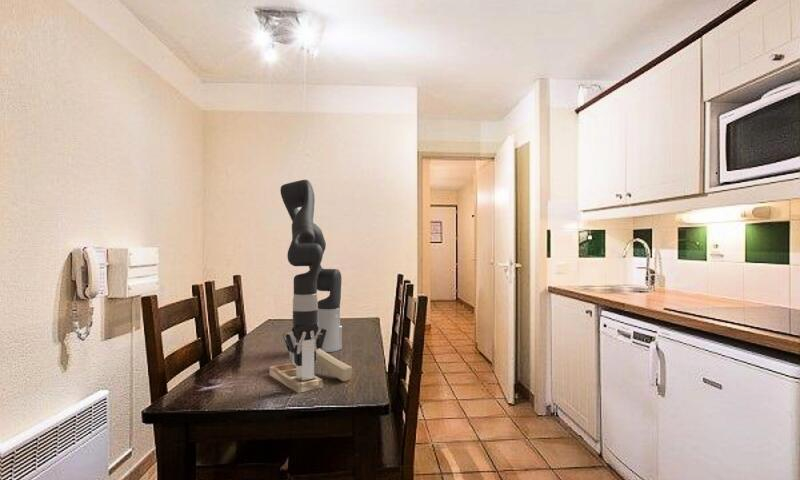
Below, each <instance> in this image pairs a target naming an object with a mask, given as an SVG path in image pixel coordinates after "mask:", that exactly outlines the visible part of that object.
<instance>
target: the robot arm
mask: <svg viewBox="0 0 800 480" xmlns="http://www.w3.org/2000/svg"><path fill="white" fill-rule="evenodd" d="M279 190H280V196H281V199H282V202H283V204H284V206H285V209H286V211H287V213H288V215H289V218H290V219H291V236H292V237H291V242H290V245H289V247H288V249H287V250H288V251H287V261H288V262H289V264H290V265H291V266H294V267H308V268H309V270H308V271H306V272H304V273H299V274H298V273H297V274H296V275H295V276H294V277H293V297H292V324H293V327H292V328H291V331H288V332H287V333H286V332H285V333H283V334H282V337H283V339H284V343H285V346H286V348H287V352H292V353H294V363H295V364H296V365H297V366H301V354H300V352H301V346H302V343H301V342H302V341H303V340H307V339H314V364H315V363H316V362H315V361H316V350H317V349H321V350H323V351H324V352H326V353H331V352H337V351H339V350H342V348H343V347H342V345H343V329H342V328H343V326H342V325H341V299H342V298H341V297H342V273H341V271H340V270H339V269H337V268H323V267H322V264H321V263H322V262H323V261H322V260H323V255H324V253H325V251H326V248H327V247H326V246H327V245H326V240H325V237H324V233H323V231H322V229H321V228H320V227H319V226H318V225H317V224H316V223H314V212H315V200H316V199H315V198H316V197H315V191H314V188H313V185H312V183H311V181H309V180H308V179H301V180H296V181H291V182H289V183H285V184H284V183H283V185H281V187H280V189H279ZM298 208H300V209H298ZM318 291H319V292H329V295H328V296H327V297H326V298H322V299H319V300H318ZM293 335H294V337H295V343H294V344H295V346H293V343H292V340H291V339H292V336H293ZM297 340H298V341H299V343H298V341H297Z"/></svg>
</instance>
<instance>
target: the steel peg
mask: <svg viewBox="0 0 800 480" xmlns="http://www.w3.org/2000/svg"><path fill="white" fill-rule="evenodd" d="M297 341H298V340H297ZM298 343H299V341H298ZM301 343H302V346H301V352H300V354H301V366H297V365H296V378H298V379H300V380H302V381H303V380H308V379H313V378H314V375H315V363H314V339H307V340H303V341H302V342H301Z"/></svg>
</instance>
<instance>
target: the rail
mask: <svg viewBox="0 0 800 480" xmlns="http://www.w3.org/2000/svg"><path fill="white" fill-rule="evenodd" d="M269 376H270V377H272V378H273V379H274V380H276V381H278V382H280V383H281V384H282V385H285V386H286V387H288V388H289V389H291V390H292V391H295V392H296V393H298V394H300V393H304V392H309V391H315V390H318V389H323V383H324V382H323V381H324V380H323V378H320V376H319V377H318V376H316V375H315V374H314V378H313V379H308V380H303V381H302V380H300V379H298V378H296V365H295V364H293V363H291V362H289V363H284V364H279V365H273V366H269Z"/></svg>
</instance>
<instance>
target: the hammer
mask: <svg viewBox="0 0 800 480" xmlns="http://www.w3.org/2000/svg"><path fill="white" fill-rule="evenodd" d="M291 326H292V328H293V323H292V324H291ZM291 340H292V343H293V346H295V344H294V343H295V337H294V335H293V336H292V339H291ZM288 352H289V351H288ZM288 354H289V359H290V363H293V364H295V363H294V353H292V352H289V353H288ZM315 363H316V364H317V365H318V366H320V367H321V368H322V369H324V370H326V371H327V372H329V373H330V374H331V375H333V376H334V377H336V378H337V379H338V380H339V381H341V382H348V381H349V380H350V379H351V377H352V375H353V367H352V366H350V365H348V364H346V363H345V362H343V361H341V360H338V359H337V358H335V357H334V356H333V355H331V354H330V353H329V352H324V351H323V350H321V349H317V350H316V361H315ZM295 365H296V364H295Z"/></svg>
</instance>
